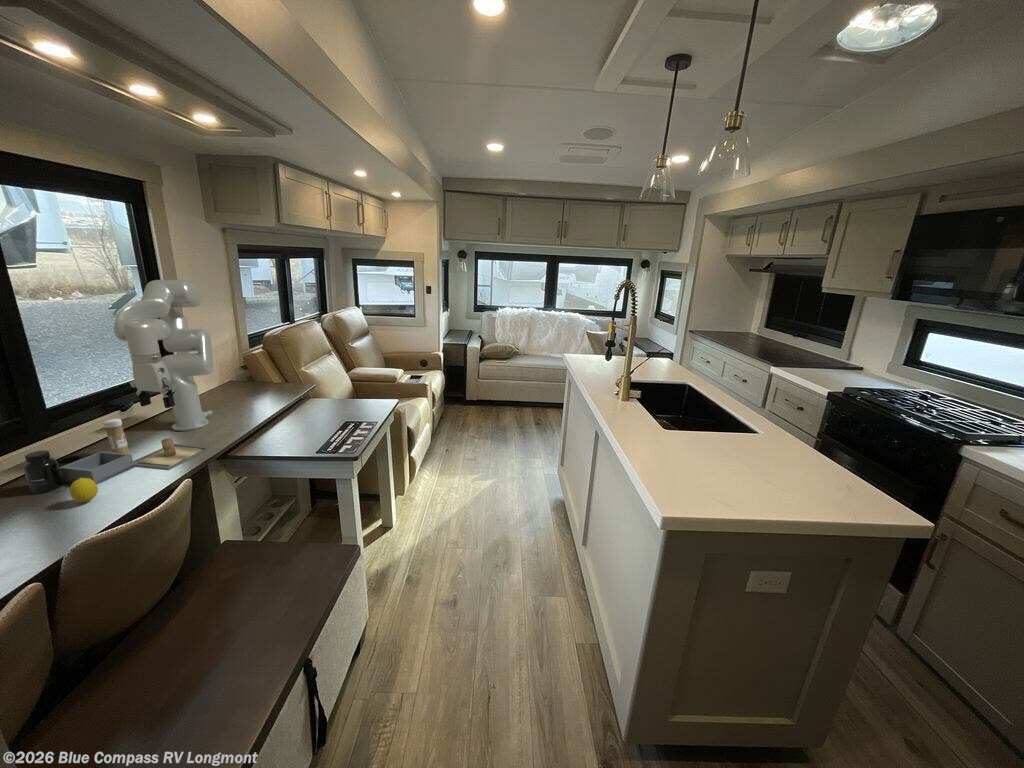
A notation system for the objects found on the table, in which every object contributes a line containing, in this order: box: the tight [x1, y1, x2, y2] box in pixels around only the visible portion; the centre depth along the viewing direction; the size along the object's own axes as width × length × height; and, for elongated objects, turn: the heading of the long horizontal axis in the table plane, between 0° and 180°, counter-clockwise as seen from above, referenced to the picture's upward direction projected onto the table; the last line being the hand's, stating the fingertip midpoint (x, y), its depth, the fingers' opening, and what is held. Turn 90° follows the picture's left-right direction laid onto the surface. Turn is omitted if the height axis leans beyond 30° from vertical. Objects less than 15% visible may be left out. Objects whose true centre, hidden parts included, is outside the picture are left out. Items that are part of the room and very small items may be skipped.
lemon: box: [69, 478, 99, 503], centre depth 117 cm, size 6×6×8 cm
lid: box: [136, 437, 203, 467], centre depth 145 cm, size 13×13×7 cm
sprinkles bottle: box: [103, 418, 131, 454], centre depth 145 cm, size 5×5×14 cm
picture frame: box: [133, 443, 212, 471], centre depth 146 cm, size 17×17×1 cm
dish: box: [59, 450, 136, 486], centre depth 133 cm, size 12×12×5 cm
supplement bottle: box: [22, 449, 64, 494], centre depth 123 cm, size 7×7×12 cm
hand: (158, 406), depth 140 cm, fingers open, 9 cm apart
